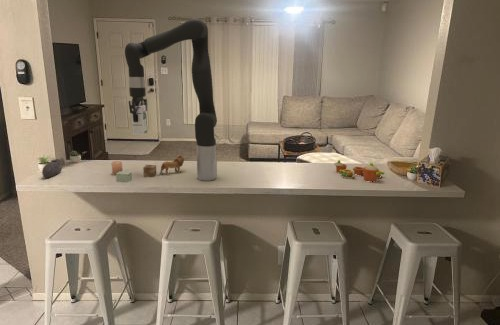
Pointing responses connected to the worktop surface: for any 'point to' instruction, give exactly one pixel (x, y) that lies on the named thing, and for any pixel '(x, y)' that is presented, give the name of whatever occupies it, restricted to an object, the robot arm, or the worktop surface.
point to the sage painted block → (124, 176)
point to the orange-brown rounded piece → (116, 167)
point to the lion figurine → (173, 164)
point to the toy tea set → (359, 171)
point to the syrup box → (140, 121)
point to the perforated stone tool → (52, 168)
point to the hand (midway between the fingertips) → (139, 120)
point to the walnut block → (149, 170)
